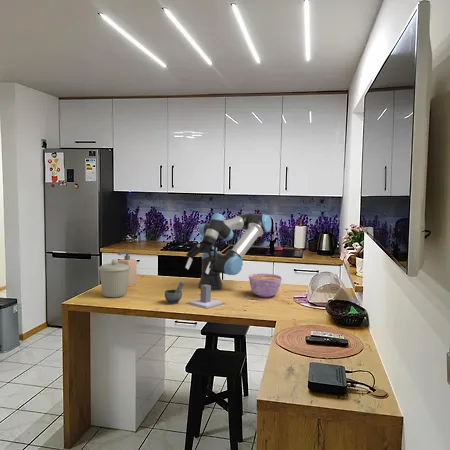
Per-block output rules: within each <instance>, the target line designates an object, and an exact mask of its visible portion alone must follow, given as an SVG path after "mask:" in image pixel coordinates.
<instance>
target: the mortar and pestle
mask: <svg viewBox="0 0 450 450" xmlns="http://www.w3.org/2000/svg"><path fill="white" fill-rule="evenodd" d="M184 286H185V283H184V282H183V281H179V284H178V286H177V287H176V289H167V290H165V291H164V298H165V300H166V301H167V304H169V305H177V304H179V302H180V301H181V299H182V298H183V287H184Z"/></svg>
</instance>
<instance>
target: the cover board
mask: <svg viewBox="0 0 450 450" xmlns="http://www.w3.org/2000/svg"><path fill="white" fill-rule="evenodd" d="M211 293H212V290H211V285H206V284H205V285H201V288H200V298H198V299H197V298H196V299H194V300H189V301H188V302H189V304H193V305H197V306H201V307H205V308H208V307H212V306H215V305H218V304H222V303H223V301H221V300H217V299H213V298H211V297H212V296H211V295H212V294H211ZM189 304H188V305H189ZM193 305H192V306H193ZM212 308H213V307H212Z"/></svg>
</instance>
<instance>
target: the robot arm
mask: <svg viewBox="0 0 450 450" xmlns="http://www.w3.org/2000/svg"><path fill="white" fill-rule="evenodd" d="M271 229H272V218H271V216H270V215H269V214H264V213H263V214H262V213H261V214H260V213H245V214H243V213H242V214H240V215H237V216H236V215H235V216H234V217H233V218H229V219H226V218H225V215H223V214H220V213H215V212H214V213H213V215H212V217H211V218H210V221H209V223H201V224H200V225H199V228H198V232H199V234H200V235H201V236H203V238H202V240H201V243H198V242H196V243H195V245H194V246H193V247H192V248H191V249H190V250H189V251H187V253H186V257H188V258H187V260H186V264H185V267H184V268H185V269H187V270H189V269H190V267H191V265H192V263H193V261H194V260H193V259H194V257H196V256H198V255H199V254H201V253H202V256H201V276H200V280H199V282H198V288H199V289H201V285H205V284H206V285H211V291H214V290H221V289H222V288H223V283H222V279H221V274H224V275H227V276H236V275H238V274H239V273H240V272H241V271H242V269H243V263H244V262H243V257H244V256H246V253H247V252H248V251H249V249H251V247H252V245H253V244H254V242H255V241H257V239H258V237H262V236H263V235H264V233H269V232H270V231H271ZM235 230H237V231H240V230H245V232H244V233H243V234H242V236H241V237H240V238H239V239H238V240H237V242H236V243H235V245H233V247H232V248H231V249H227V251H226V252H225V254H224V253H223V254H222V253H221V251H220V250H219V251H218V249H219V248H218V247H217V246H216V245H215V244H216V241H217V239H218V238H221V239H222V240H224V241H226V242H228V241H230V240H232V238H233V237H234V232H233V231H235Z"/></svg>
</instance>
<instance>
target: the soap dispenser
mask: <svg viewBox="0 0 450 450" xmlns="http://www.w3.org/2000/svg"><path fill="white" fill-rule="evenodd" d="M117 255H119V256H121V255H124V256H123V257H124V258H121V259H117V261H118V263H120V264H126V265H128V266H130V267H131V268H130V269H129V278H128V286H127V288H128V287H132V286H135V285H137V263H138V262H137V260H138V259H136V258H131V255H129V250H124V251H118V252H117Z"/></svg>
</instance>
